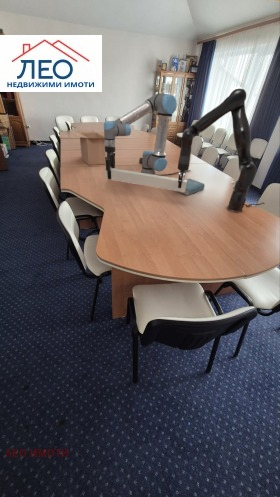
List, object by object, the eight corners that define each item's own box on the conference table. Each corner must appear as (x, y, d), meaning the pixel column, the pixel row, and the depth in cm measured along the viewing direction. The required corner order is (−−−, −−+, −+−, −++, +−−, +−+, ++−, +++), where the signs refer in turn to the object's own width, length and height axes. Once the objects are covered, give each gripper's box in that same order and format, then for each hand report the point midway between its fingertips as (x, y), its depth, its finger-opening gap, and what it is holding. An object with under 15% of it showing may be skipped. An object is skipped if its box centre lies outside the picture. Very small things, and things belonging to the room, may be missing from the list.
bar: (104, 178, 172) (104, 169, 168) (107, 176, 176) (107, 167, 172) (184, 192, 159) (186, 182, 154) (185, 190, 162) (187, 180, 158)
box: (116, 165, 229) (116, 136, 213) (83, 168, 214) (80, 137, 198) (102, 154, 259) (101, 128, 243) (71, 156, 244) (68, 129, 228)
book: (188, 184, 197) (189, 178, 194) (203, 189, 189) (204, 183, 186) (172, 189, 184) (173, 183, 181) (188, 196, 175) (189, 190, 172)
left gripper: (109, 149, 151) (110, 182, 165) (119, 144, 165) (119, 174, 179) (99, 147, 153) (101, 180, 167) (110, 142, 167) (111, 173, 181)
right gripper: (188, 165, 143) (183, 190, 153) (190, 160, 154) (186, 184, 164) (176, 164, 145) (173, 189, 155) (180, 159, 156) (176, 182, 166)
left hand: (110, 177), depth 173 cm, fingers closed on bar, 5 cm apart
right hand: (180, 186), depth 160 cm, fingers closed on bar, 5 cm apart
